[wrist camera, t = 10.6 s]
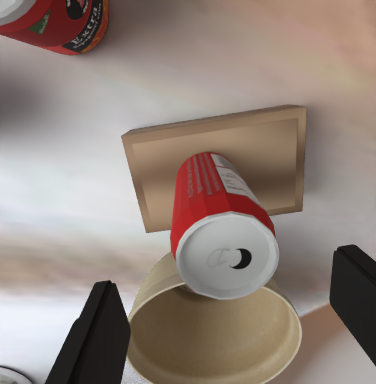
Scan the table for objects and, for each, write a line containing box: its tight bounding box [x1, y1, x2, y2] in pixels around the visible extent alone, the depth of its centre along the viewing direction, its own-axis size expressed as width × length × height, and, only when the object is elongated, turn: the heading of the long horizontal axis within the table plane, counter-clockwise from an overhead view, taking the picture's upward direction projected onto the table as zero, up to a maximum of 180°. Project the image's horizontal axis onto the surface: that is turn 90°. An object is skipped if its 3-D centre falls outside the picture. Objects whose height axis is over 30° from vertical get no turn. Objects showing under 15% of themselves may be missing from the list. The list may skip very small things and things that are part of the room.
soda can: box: [170, 152, 279, 300], centre depth 16 cm, size 6×6×12 cm
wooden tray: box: [121, 105, 307, 233], centre depth 24 cm, size 10×16×4 cm, turn 99°
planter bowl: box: [126, 251, 302, 384], centre depth 26 cm, size 16×16×11 cm
